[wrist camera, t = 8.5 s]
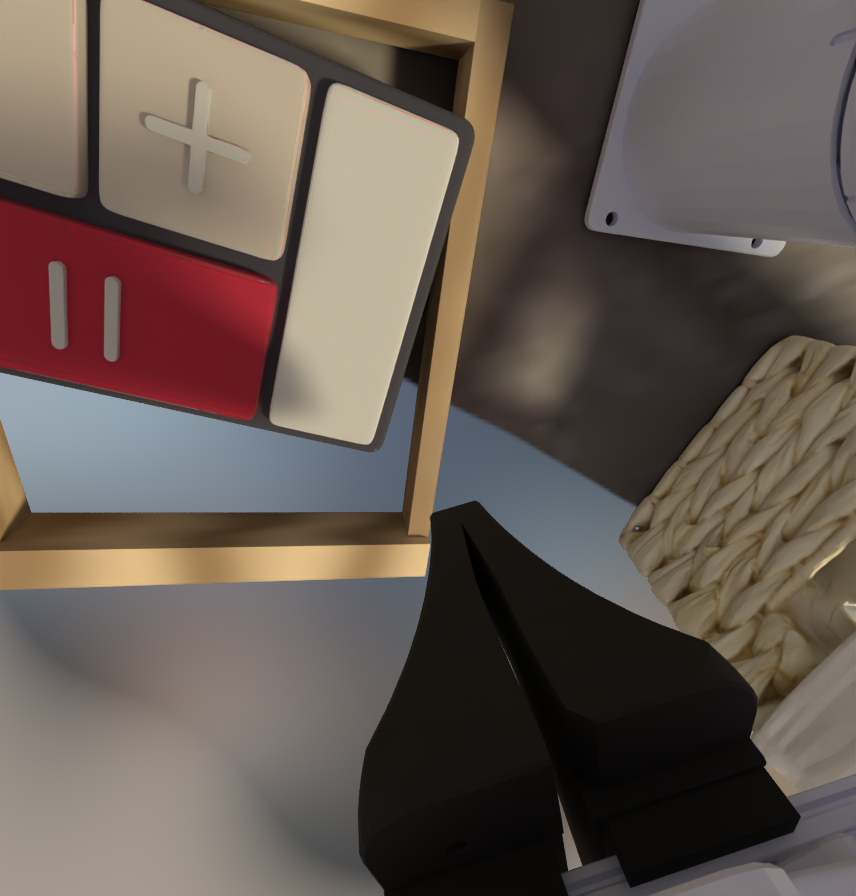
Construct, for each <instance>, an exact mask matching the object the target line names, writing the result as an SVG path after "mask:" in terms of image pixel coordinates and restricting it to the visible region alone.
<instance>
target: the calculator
mask: <svg viewBox="0 0 856 896" xmlns="http://www.w3.org/2000/svg"><path fill="white" fill-rule="evenodd" d="M474 140H475V133H474V129H473V126H472V125H471V123H470V122H469V121H468V120H467V119H465V118H463V117H461V116H459V115H457V114H455V113H452V112H450V111H448V110H445V109H443V108H441V107H438V106H436V105H434V104H431V103H429V102H427V101H424V100H422V99H420V98H417V97H415V96H413V95H411V94H408V93H406V92H404V91H401V90H399V89H397V88H394V87H392V86H390V85H387V84H385V83H383V82H380V81H378V80H376V79H373V78H371V77H369V76H366V75H364V74H362V73H359V72H357V71H355V70H352V69H350V68H348V67H345V66H343V65H341V64H338V63H336V62H334V61H332V60H329V59H327V58H325V57H322V56H320V55H318V54H315V53H313V52H311V51H308V50H306V49H304V48H301V47H299V46H297V45H294V44H292V43H290V42H287V41H285V40H283V39H280V38H278V37H276V36H273V35H271V34H269V33H266V32H264V31H262V30H260V29H257V28H255V27H253V26H250V25H248V24H246V23H243V22H241V21H239V20H236V19H234V18H232V17H229V16H227V15H225V14H222V13H220V12H218V11H215V10H213V9H211V8H208V7H206V6H204V5H201V4H199V3H197V2H194V1H192V0H0V372H1V373H6V374H10V375H15V376H19V377H24V378H29V379H33V380H38V381H42V382H47V383H52V384H57V385H61V386H66V387H70V388H75V389H79V390H84V391H89V392H93V393H98V394H103V395H107V396H112V397H116V398H121V399H126V400H130V401H135V402H139V403H144V404H149V405H154V406H158V407H163V408H168V409H172V410H176V411H181V412H186V413H190V414H195V415H200V416H204V417H209V418H213V419H218V420H223V421H227V422H232V423H237V424H241V425H246V426H250V427H255V428H260V429H264V430H269V431H273V432H278V433H283V434H287V435H292V436H297V437H302V438H306V439H310V440H315V441H320V442H324V443H329V444H333V445H338V446H343V447H348V448H352V449H357V450H361V451H366V452H374V451H377V450H378V449H379V448H381V446H382V444H383V442H384V439H385V436H386V432H387V429H388V426H389V422H390V419H391V416H392V413H393V409H394V406H395V402H396V399H397V396H398V393H399V389H400V386H401V383H402V380H403V376H404V373H405V370H406V366H407V363H408V360H409V356H410V353H411V350H412V347H413V343H414V340H415V337H416V333H417V330H418V327H419V323H420V320H421V317H422V314H423V310H424V307H425V304H426V300H427V297H428V294H429V290H430V287H431V284H432V281H433V277H434V274H435V271H436V267H437V264H438V261H439V258H440V254H441V251H442V248H443V244H444V241H445V238H446V234H447V231H448V228H449V225H450V221H451V218H452V215H453V211H454V208H455V205H456V201H457V198H458V195H459V192H460V188H461V185H462V182H463V178H464V175H465V172H466V168H467V165H468V162H469V159H470V155H471V152H472V148H473V145H474Z"/></svg>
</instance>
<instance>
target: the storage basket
mask: <svg viewBox="0 0 856 896" xmlns="http://www.w3.org/2000/svg"><path fill="white" fill-rule="evenodd" d="M635 527H639V530H635ZM619 542H620V544H621V546H622V547H623V549H624V550H626V551H627V553H628V556H629V557H630V559H631V560H632V561H633V563H634V565H635V566H636V568H637V569H638V571H639V572H640V573H641V574H642V575H644V576H646V577H648V582H649V584H650V585H651V586H652V592H653V593H654V594H655V596H656V597H657V598H658V599H659V600H660V601H661V602H662V603H663V604H664V605H665V606H666V607H668V610H669V612H670V614H671V615H672V617H673V620H674V622H675V624H676V626H677V627H678V629H679V631H680V632H682V633H685V634H688V635H691V636H693V637H696V638H699V639H701V640H704V641H707V642H708V643H709V644H710V645H711V646H712V647H713V648H715V649H716V650H717V651H718V652H719V653H720V654H721V655H722V656H723V657H724V658H725V659H726V660H727V661H728V662H729V663H730V664H731V665H732V666H733V667H734V668H735V669H736V670H737V671H738V672H739V673H740V674H741V675H742V676H743V678H744V679H745V680H746V681H747V682H748V683H749V685H750V686H751V687H752V688H753V689H754V691H755V693H756V695H757V697H758V701H757V713H756V717H755V721H754V724H753V728H752V730H753V734H752V736H751V740H752V741H753V743H754V744H755V745H756V747H757V748H758V749H759V750H760V752H761V753H762V754H763V756H764V757H765V760H766V762H767V763H768V764H769V765H770V766H771V767H772V768H773V769H775V770H776V771H777V772H778V773H780V774H781V775H783V776H784V777H785V778H787V779H788V780H789V781H791V783H792V784H793V785H794V786H795V788H796V789H797V790H798V791H799V793H800V792H803V791H806V790H809V789H812V788H815V787H818V786H821V785H824V784H827V783H830V782H833V781H835V780H838V779H841V778H844V777H847V776H850V775H853V774H856V346H851V345H841V346H835V345H834V344H832V343H829V342H826V341H822V340H816V339H812V338H808V337H805V336H796V335H794V336H789V337H788V338H786V339H784V340H782V341H780V342H778V343H777V344H775V345H774V346H772V347H771V348H770V349H769V350H768V351H767V352H766V353H765V354H764V355H763V356H762V357H761V358H760V359H759V360H758V361H757V362H756V364H755V365H754V366H753V367H752V368H751V370H750V371H749V373H748V374H747V375H746V377H745V378H744V380H743V383H742V385H740V386H739V387H738V388H736V389H735V390H734V391H733V392H732V393H731V395H730V396H729V397H728V398H727V399H726V401H725V402H724V403H723V404H722V406H721V407H720V408H719V410H718V411H717V413H716V414H715V416H714V417H713V418H712V420H711V421H710V422H709V423H708V424H706V425H705V426H704V427H703V428H702V429H701V430H700V431H699V432H698V434H697V435H696V436H695V437H694V439H693V440H692V441H691V442H690V444H689V445H688V446H687V448H686V449H685V450H684V452H683V453H682V454H681V456H680V457H679V459H678V461H676V462H675V463H674V464H673V465H672V466H671V467H670V468H669V469H668V470H667V471H666V473H665V474H664V476H663V477H662V478H661V480H660V481H659V483H658V484H657V485H656V487H655V489H654V490H653V492H652V493H651V494H650V495H649V496H647V497H645V498H644V499H643V501H642V502H641V503H640V504H639V506H638V507H637V508H636V510H635V511H634V513H633V514H632V516H631V518H630V520H629V522H628V523H627V525H626V526H625V528H624V529H623V531H622V533H621V535H620V538H619Z"/></svg>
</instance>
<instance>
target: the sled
mask: <svg viewBox="0 0 856 896" xmlns="http://www.w3.org/2000/svg"><path fill="white" fill-rule="evenodd" d="M193 1H197V2H202V3H206V4H211V5H215V6H219V7H224V8H228V9H233V10H237V11H242V12H246V13H250V14H255V15H259V16H264V17H268V18H273V19H277V20H282V21H286V22H290V23H295V24H299V25H304V26H308V27H313V28H317V29H322V30H326V31H330V32H335V33H339V34H344V35H348V36H353V37H357V38H361V39H366V40H370V41H375V42H379V43H384V44H388V45H393V46H397V47H401V48H406V49H410V50H415V51H419V52H424V53H428V54H432V55H437V56H441V57H446V58H450V59H455V60H459V63H458V71H457V79H456V87H455V95H454V103H453V111H452V113H455V114H457V115H459V116H461V117H463V118H465V119H467V120H468V121H469V122H470V123H471V125H472V126H473V129H474V133H475V140H474V145H473V148H472V152H471V155H470V159H469V162H468V165H467V168H466V172H465V175H464V178H463V182H462V185H461V188H460V192H459V195H458V198H457V201H456V205H455V208H454V211H453V215H452V218H451V221H450V225H449V228H448V231H447V234H446V238H445V241H444V244H443V248H442V251H441V254H440V258H439V261H438V264H437V267H436V271H435V274H434V277H433V281H432V284H431V287H430V295H429V303H428V311H427V319H426V327H425V335H424V343H423V351H422V359H421V367H420V375H419V383H418V391H417V399H416V408H415V415H414V423H413V431H412V439H411V447H410V455H409V463H408V471H407V480H406V488H405V495H404V504H403V511H402V512H389V513H388V512H387V513H386V512H385V513H384V512H371V513H370V512H365V513H364V512H363V513H362V512H354V513H353V512H350V513H349V512H343V513H341V512H336V513H335V512H331V513H327V512H321V513H319V512H318V513H316V512H312V513H308V512H306V513H304V512H303V513H302V512H298V513H31V511H30V508H29V505H28V502H27V499H26V496H25V493H24V490H23V487H22V484H21V481H20V478H19V475H18V472H17V469H16V466H15V463H14V460H13V457H12V454H11V451H10V448H9V445H8V442H7V439H6V436H5V433H4V430H3V427H2V424H1V421H0V590H10V589H42V588H71V587H72V588H73V587H105V586H135V585H163V584H164V585H165V584H195V583H196V584H197V583H225V582H226V583H227V582H258V581H289V580H318V579H350V578H382V577H408V576H409V577H410V576H425V572H426V566H427V560H428V554H429V548H430V542H429V538H428V536H429V530H430V524H431V522H430V516H431V515H432V511H433V505H434V499H435V493H436V487H437V480H438V474H439V468H440V462H441V456H442V450H443V443H444V437H445V431H446V425H447V419H448V413H449V407H450V400H451V394H452V388H453V382H454V376H455V370H456V363H457V357H458V351H459V345H460V339H461V333H462V326H463V320H464V314H465V308H466V302H467V295H468V289H469V283H470V277H471V271H472V265H473V258H474V252H475V246H476V240H477V234H478V228H479V221H480V215H481V209H482V203H483V197H484V191H485V184H486V178H487V172H488V166H489V160H490V154H491V147H492V141H493V135H494V129H495V123H496V117H497V110H498V104H499V98H500V92H501V86H502V80H503V73H504V67H505V61H506V55H507V49H508V43H509V36H510V30H511V24H512V18H513V12H514V6H515V4H512V3H508V2H504V1H500V0H193Z"/></svg>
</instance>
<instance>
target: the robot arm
mask: <svg viewBox="0 0 856 896" xmlns="http://www.w3.org/2000/svg"><path fill="white" fill-rule="evenodd" d="M610 212H611V213H612V215H613V220H612V222H611V224H609V225H607V224H606V217H607V215H608V214H609V213H610ZM585 225H586V226H587V228H588V229H590V230H592V231H597V232H604V233H611V234H617V235H624V236H631V237H637V238H644V239H651V240H657V241H664V242H671V243H677V244H684V245H691V246H697V247H704V248H711V249H717V250H724V251H731V252H737V253H744V254H751V255H757V256H764V257H774V256H776V255H778V254H779V253H780V252H781V251H782V249H783V248H784V246H785V244H786V241H789V242H800V243H812V244H823V245H835V246H847V247H856V0H640V3H639V7H638V11H637V14H636V18H635V22H634V26H633V30H632V34H631V38H630V42H629V46H628V50H627V53H626V57H625V61H624V65H623V69H622V73H621V77H620V81H619V85H618V89H617V92H616V96H615V100H614V104H613V108H612V112H611V116H610V120H609V124H608V128H607V131H606V135H605V139H604V143H603V147H602V151H601V155H600V159H599V163H598V167H597V170H596V174H595V178H594V182H593V186H592V190H591V194H590V198H589V202H588V205H587V209H586V213H585ZM753 239H755V242H754V244H753V245H752V246H751V243H752V240H753ZM430 522H431V532H432V543H431V558H430V568H429V575H428V581H427V587H426V592H425V598H424V602H423V607H422V611H421V615H420V619H419V623H418V626H417V630H416V633H415V636H414V640H413V642H412V646H411V649H410V652H409V655H408V658H407V660H406V663H405V666H404V669H403V671H402V673H401V676H400V678H399V680H398V683H397V686H396V688H395V690H394V692H393V695H392V697H391V700H390V702H389V704H388V706H387V708H386V711H385V713H384V715H383V716H382V718H381V720H380V722H379V724H378V726H377V729H376V730H375V732H374V734H373V736H372V738H371V740H370V742H369V744H368V746H367V748H366V751H365V757H364V762H363V768H362V775H361V782H360V790H359V805H358V831H359V854H360V856H361V859H362V861H363V863H364V865H365V866H366V867H367V868H368V870H369V871H370V873H371V874H372V875H373V876H374V877H375V879H376V880H377V882H378V883H379V884H380V885H381V887H382V888H383V889H384V896H856V774H853V775H850V776H847V777H844V778H841V779H838V780H835V781H833V782H830V783H827V784H824V785H821V786H818V787H815V788H812V789H809V790H806V791H803V792H800V793H797V794H794V795H791V796H788V797H786V796H785V794H784V793H783V792H782V790H781V789H780V788H779V787H778V785H777V784H776V783H775V781H774V780H773V779H772V777H771V776H770V775H769V773H768V772H767V771H766V769H765V768H764V767H763V766H765V765H766V760H765V757H764V756H763V754H762V753H761V752H760V750H759V749H758V748H757V747H756V745H755V744H754V743H753V741H752V740H751V739H750V735H751V732H752V728H753V724H754V721H755V717H756V713H757V701H758V697H757V695H756V693H755V691H754V689H753V688H752V687H751V686H750V685H749V683H748V682H747V681H746V680H745V679H744V678H743V676H742V675H741V674H740V673H739V672H738V671H737V670H736V669H735V668H734V667H733V666H732V665H731V664H730V663H729V662H728V661H727V660H726V659H725V658H724V657H723V656H722V655H721V654H720V653H719V652H718V651H717V650H716V649H715V648H713V647H712V646H711V645H710V644H709V643H708V642H707V641H704V640H701V639H699V638H696V637H693V636H691V635H688V634H685V633H682V632H680V631H677V630H674V629H671V628H668V627H666V626H663V625H660V624H658V623H656V622H653V621H651V620H649V619H646V618H644V617H642V616H639V615H637V614H635V613H633V612H631V611H629V610H626V609H625V608H623V607H621V606H619V605H617V604H615V603H613V602H611V601H609V600H607V599H605V598H603V597H601V596H599V595H597V594H595V593H593V592H592V591H590V590H588V589H586V588H585V587H583V586H581V585H580V584H578V583H576V582H574V581H573V580H571V579H570V578H568V577H567V576H565V575H564V574H562V573H560V572H559V571H557V570H556V569H555V568H553V567H551V566H550V565H549V564H547V563H546V562H545V561H543V560H542V559H541V558H539V557H538V556H537V555H535V554H534V553H532V552H531V551H530V550H529V549H528V548H526V547H525V546H524V545H523V544H522V543H520V542H519V541H518V540H517V539H516V538H514V537H513V536H512V535H511V534H510V533H509V532H507V531H506V530H505V529H504V528H503V527H502V526H501V525H500V524H499V523H498V522H497V521H496V520H495V519H494V518H493V517H492V516H491V515H490V514H489V513H488V512H487V511H486V510H485V509H484V508H483V506H482V505H481V504H480V503H479V502H477V501H472V502H469V503H465V504H462V505H459V506H455V507H451V508H448V509H445V510H441V511H438V512H435V513H432V515H431V516H430ZM498 637H499V638H498ZM499 639H500V640H499ZM501 644H502V645H501ZM502 646H503V647H502ZM503 648H504V649H503ZM504 650H505V652H506V654H505V652H504ZM506 655H507V656H506ZM507 657H508V659H509V661H510V663H511V665H512V668H513V670H514V672H513V670H512V668H511V665H510V663H509V661H508V659H507ZM514 673H515V675H516V677H515V675H514ZM516 678H517V679H516ZM517 680H518V681H517ZM519 685H520V686H519ZM557 793H558V794H557ZM558 796H559V799H560V801H561V804H562V807H563V810H564V813H565V816H566V819H567V822H568V825H569V828H570V831H571V834H572V836H573V839H574V842H575V845H576V848H577V851H578V854H579V857H580V860H581V863H582V866H581V867H578V868H575V869H572V870H569V871H568V867H567V861H566V855H565V849H564V843H563V837H562V834H563V833H564V832H563V826H562V819H561V813H560V806H559V800H558Z"/></svg>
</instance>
